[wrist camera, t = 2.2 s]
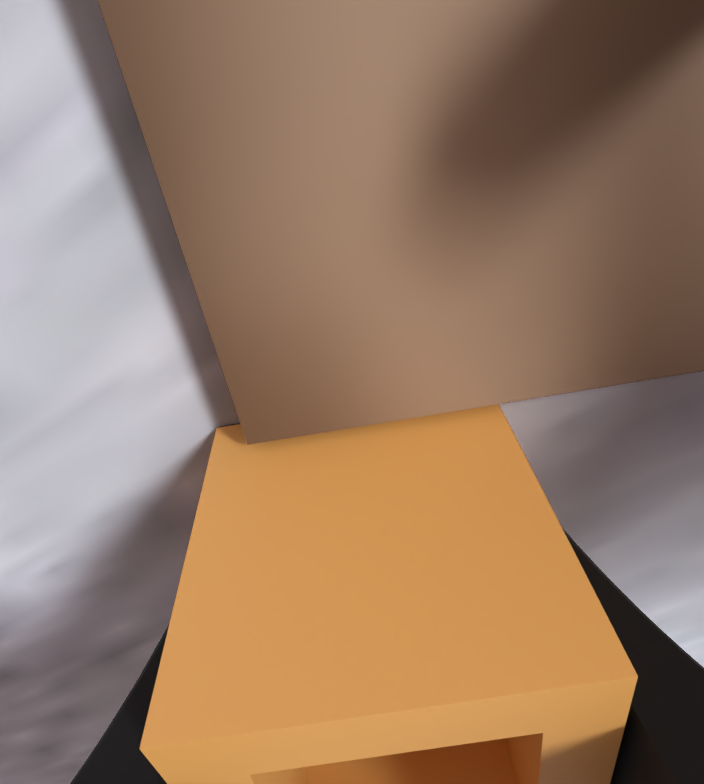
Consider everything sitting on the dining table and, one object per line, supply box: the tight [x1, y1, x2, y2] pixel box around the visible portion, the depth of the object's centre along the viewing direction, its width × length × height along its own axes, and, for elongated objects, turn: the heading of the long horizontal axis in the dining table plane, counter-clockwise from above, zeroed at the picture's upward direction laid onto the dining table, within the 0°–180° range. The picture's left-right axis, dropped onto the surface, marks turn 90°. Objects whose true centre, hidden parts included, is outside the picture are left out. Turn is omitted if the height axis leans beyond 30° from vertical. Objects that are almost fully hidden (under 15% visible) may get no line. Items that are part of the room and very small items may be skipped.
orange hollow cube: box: [139, 404, 638, 784], centre depth 10 cm, size 6×6×6 cm
